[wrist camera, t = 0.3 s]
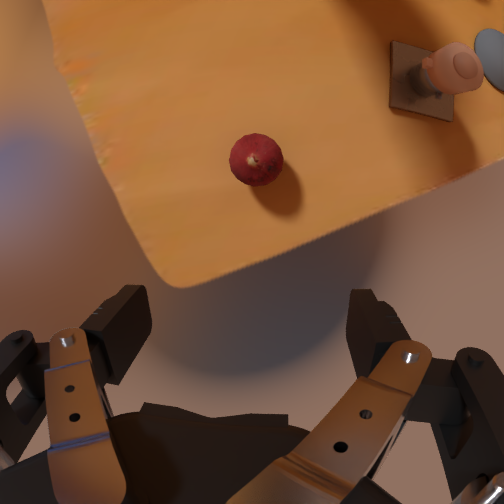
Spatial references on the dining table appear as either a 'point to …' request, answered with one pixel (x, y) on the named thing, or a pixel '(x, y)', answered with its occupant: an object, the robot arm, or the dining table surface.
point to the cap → (454, 69)
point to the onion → (256, 159)
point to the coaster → (491, 55)
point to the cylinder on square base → (415, 84)
